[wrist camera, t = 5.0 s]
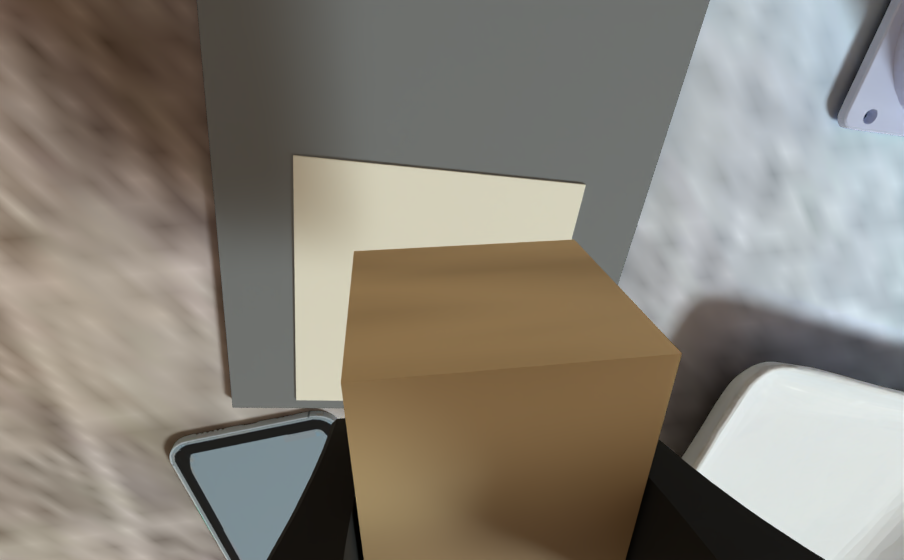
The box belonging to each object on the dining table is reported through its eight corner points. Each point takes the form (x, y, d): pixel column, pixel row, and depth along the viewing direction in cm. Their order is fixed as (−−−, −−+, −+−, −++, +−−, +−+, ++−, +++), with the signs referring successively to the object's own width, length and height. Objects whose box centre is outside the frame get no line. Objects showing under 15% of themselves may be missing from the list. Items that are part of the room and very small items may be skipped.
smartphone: (335, 411, 21) (399, 607, 28) (337, 398, 21) (399, 592, 28) (159, 446, 20) (269, 637, 27) (166, 431, 21) (272, 621, 28)
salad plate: (1015, 388, 27) (1094, 432, 24) (796, 607, 36) (834, 660, 33) (716, 318, 22) (770, 363, 19) (542, 596, 31) (560, 658, 28)
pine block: (540, 500, 14) (597, 662, 10) (380, 519, 13) (382, 699, 10) (573, 239, 10) (681, 352, 6) (354, 250, 9) (340, 382, 6)
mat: (745, -135, 14) (757, -140, 13) (574, 404, 23) (578, 411, 22) (177, -275, 11) (169, -288, 11) (235, 400, 20) (232, 409, 19)
